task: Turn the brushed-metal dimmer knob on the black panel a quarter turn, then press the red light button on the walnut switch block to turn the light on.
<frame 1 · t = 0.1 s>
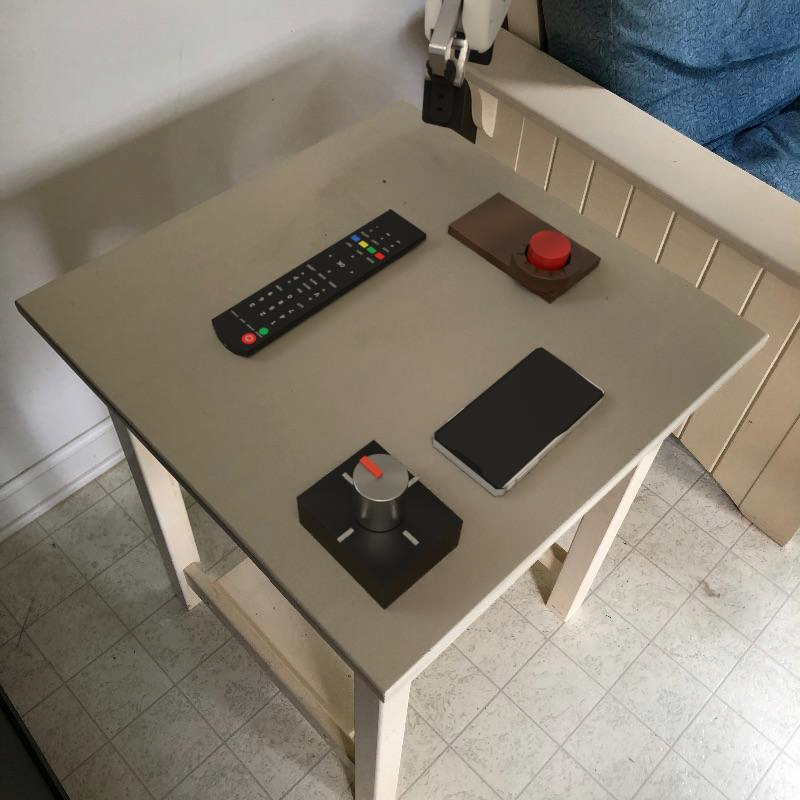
hand: (457, 91, 68), 20 cm above the table, tool pointing down, fingers open, 9 cm apart
remote control: (322, 287, 82), on the table
dimmer knob: (380, 492, 60), point 6 cm above the table, hinge at 0.0°
dimmer panel: (378, 533, 66), on the table
smartphone: (518, 422, 73), on the table
switch block: (522, 249, 86), on the table
light button: (548, 250, 81), point 3 cm above the table, slide at 0.1 cm
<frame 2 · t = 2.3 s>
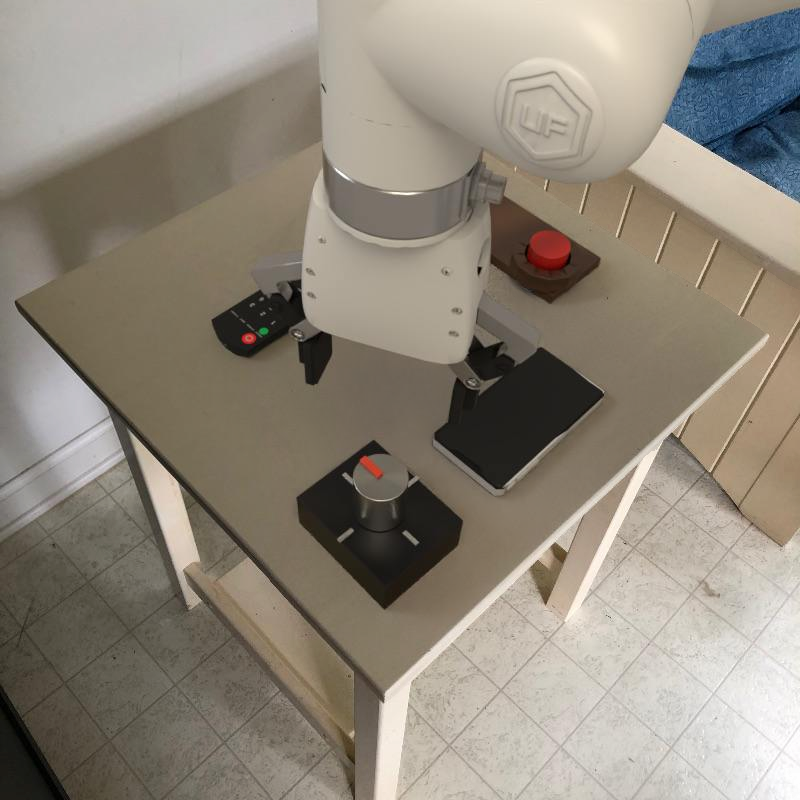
hand: (388, 388, 54), 16 cm above the table, tool pointing down, fingers open, 9 cm apart
nothing on the table moved.
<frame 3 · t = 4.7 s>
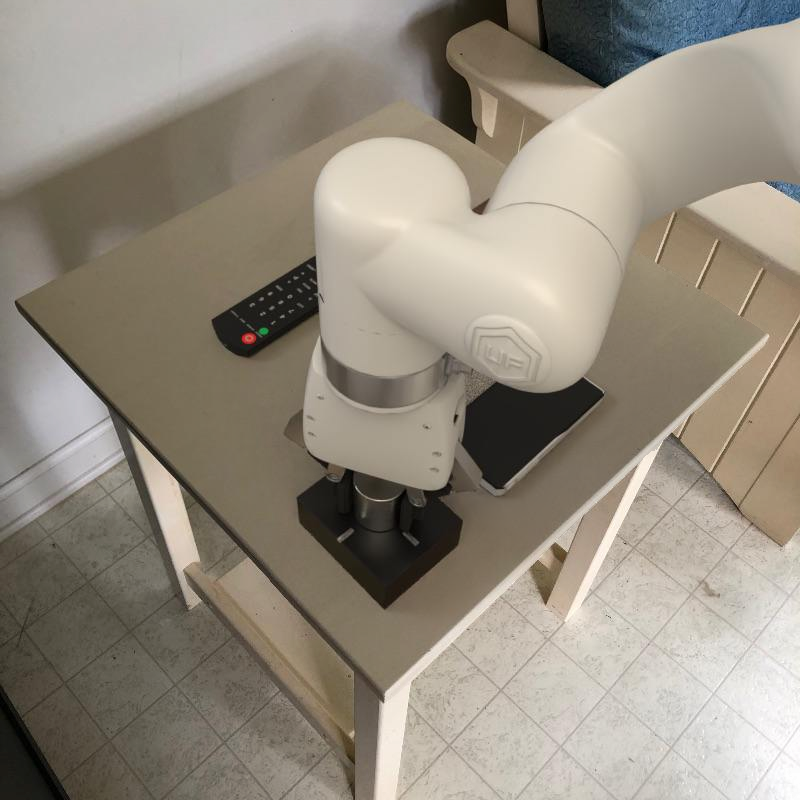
hand: (379, 505, 62), 5 cm above the table, tool pointing down, fingers closed on dimmer knob, 4 cm apart
dimmer knob: (380, 492, 60), point 6 cm above the table, hinge at 0.0°, touching gripper
everything else where it was.
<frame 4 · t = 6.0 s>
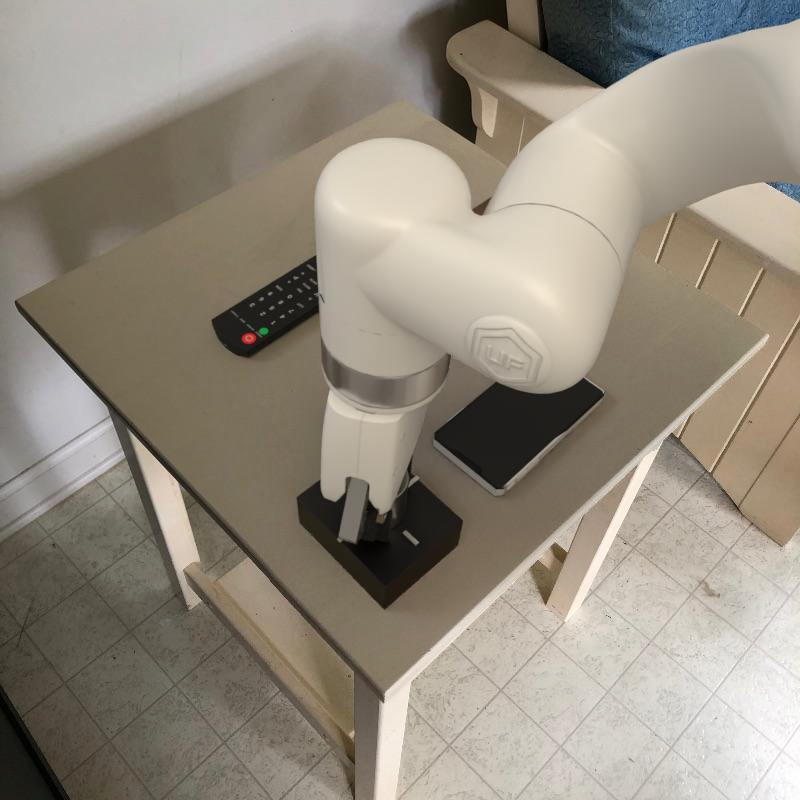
hand: (379, 505, 62), 4 cm above the table, tool pointing down, fingers closed on dimmer knob, 4 cm apart
dimmer knob: (380, 492, 60), point 6 cm above the table, hinge at 90.3°, touching gripper
everything else where it was.
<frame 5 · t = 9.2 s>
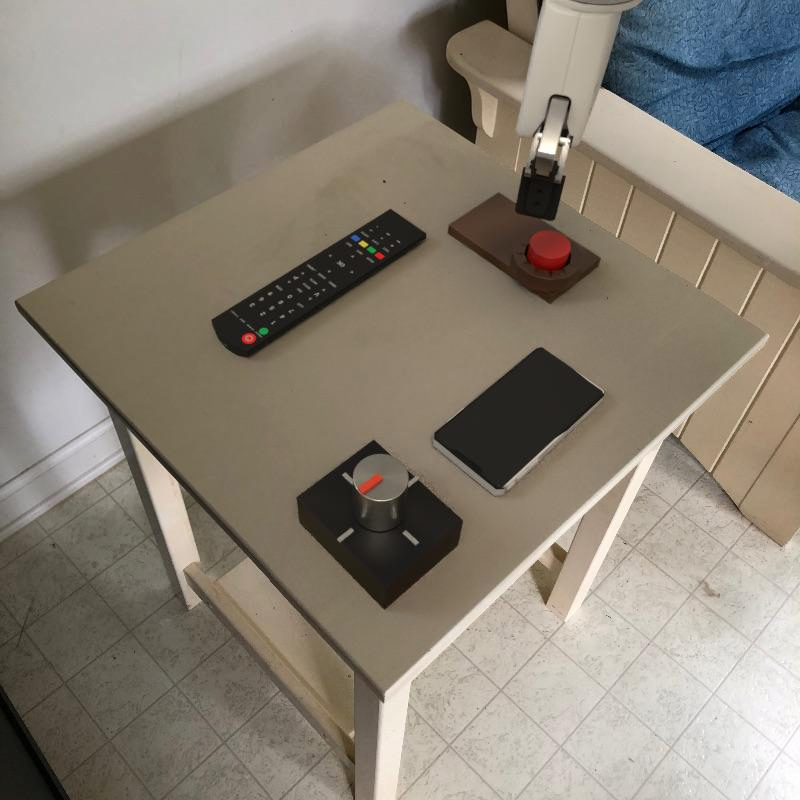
hand: (545, 177, 67), 17 cm above the table, tool pointing down, fingers open, 9 cm apart
dimmer knob: (380, 492, 60), point 6 cm above the table, hinge at 89.6°
everything else where it was.
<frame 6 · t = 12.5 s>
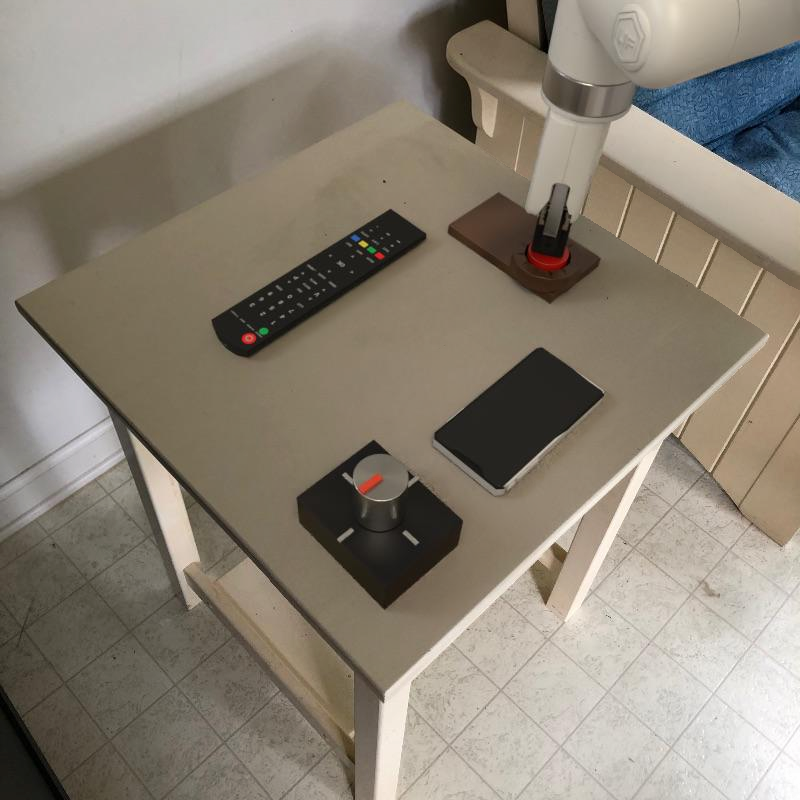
hand: (547, 249, 81), 4 cm above the table, tool pointing down, fingers closed
light button: (547, 257, 82), point 3 cm above the table, slide at -0.8 cm, touching gripper
everything else where it was.
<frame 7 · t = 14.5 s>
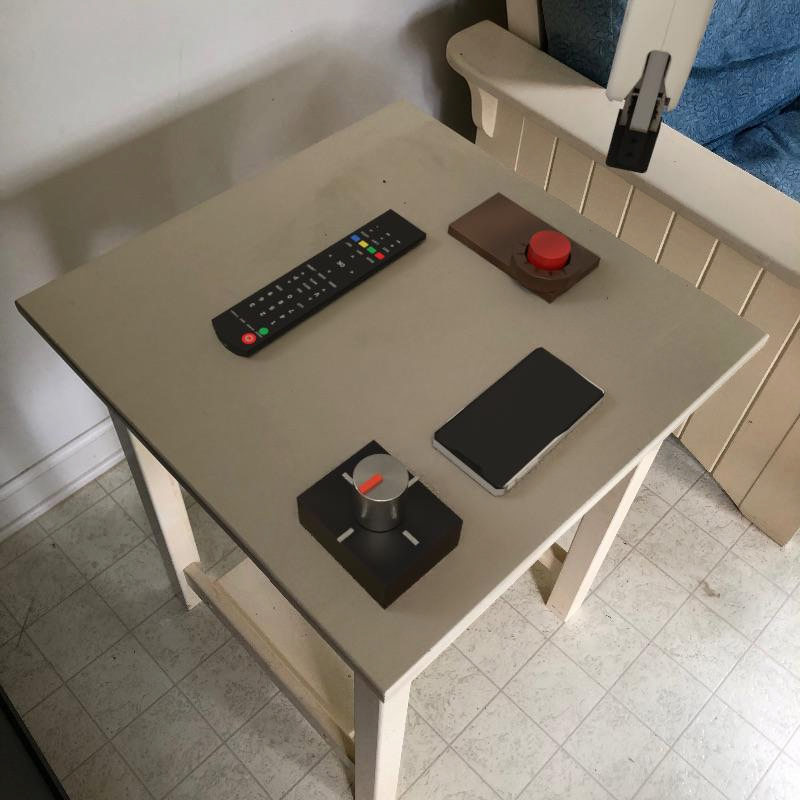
hand: (626, 163, 64), 20 cm above the table, tool pointing down, fingers closed
light button: (548, 250, 81), point 3 cm above the table, slide at 0.1 cm
everything else where it was.
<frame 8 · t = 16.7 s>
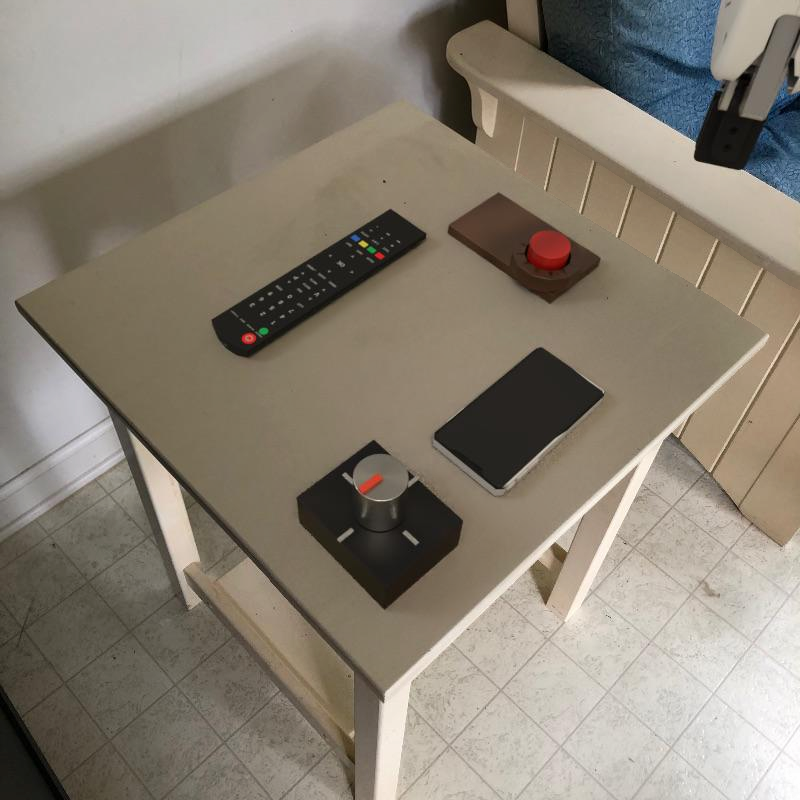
hand: (718, 158, 52), 27 cm above the table, tool pointing down, fingers closed
nothing on the table moved.
at the end: dimmer knob at +90° (first picture: +0°); light button pushed in 1.0 cm at the most during the clip, back to where it started at the end; light button slide at 0.1 cm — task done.
